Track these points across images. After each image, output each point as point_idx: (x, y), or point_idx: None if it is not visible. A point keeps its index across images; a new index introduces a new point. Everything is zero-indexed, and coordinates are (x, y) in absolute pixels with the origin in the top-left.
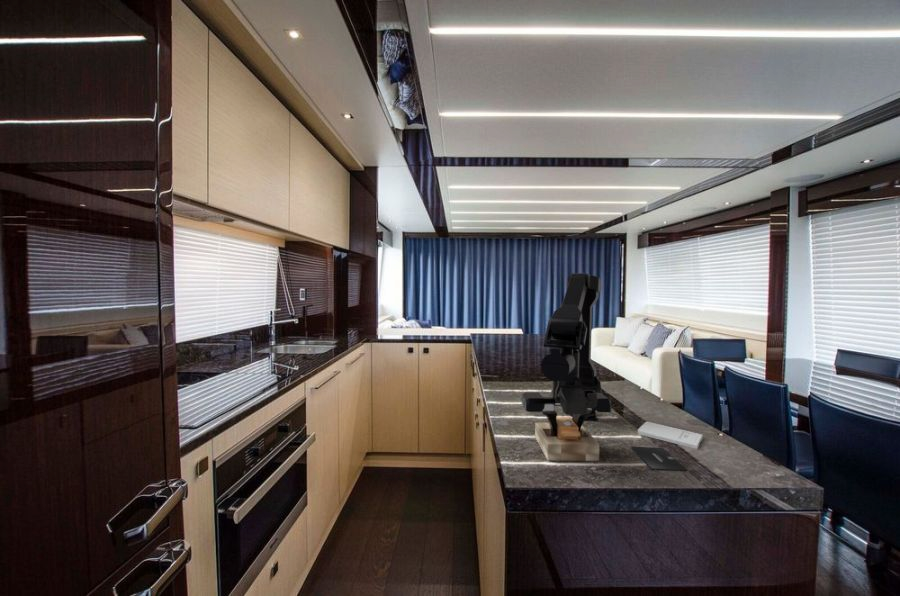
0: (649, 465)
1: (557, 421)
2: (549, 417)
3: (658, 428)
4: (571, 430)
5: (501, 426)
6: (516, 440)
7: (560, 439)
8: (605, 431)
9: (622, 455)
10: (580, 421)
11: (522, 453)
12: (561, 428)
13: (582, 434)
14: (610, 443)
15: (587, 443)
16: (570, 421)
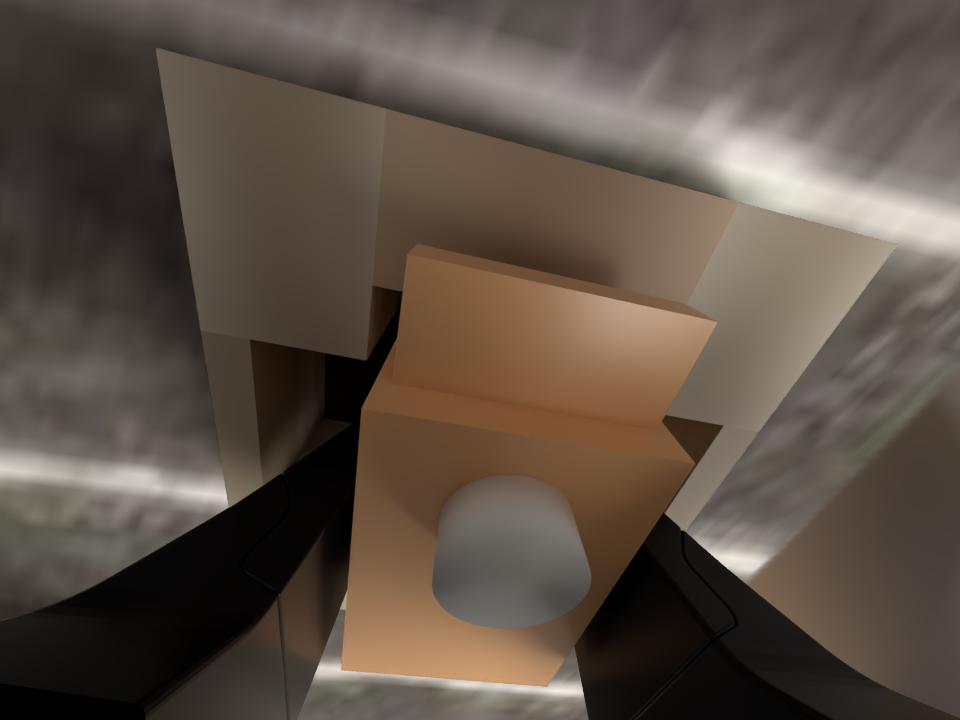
0: None
1: (575, 611)
2: (927, 708)
3: None
4: (506, 385)
5: None
6: (713, 513)
7: None
8: (96, 531)
9: (18, 172)
10: (242, 551)
11: (819, 366)
12: (661, 445)
13: (287, 462)
14: (94, 390)
15: (347, 135)
16: (458, 568)
